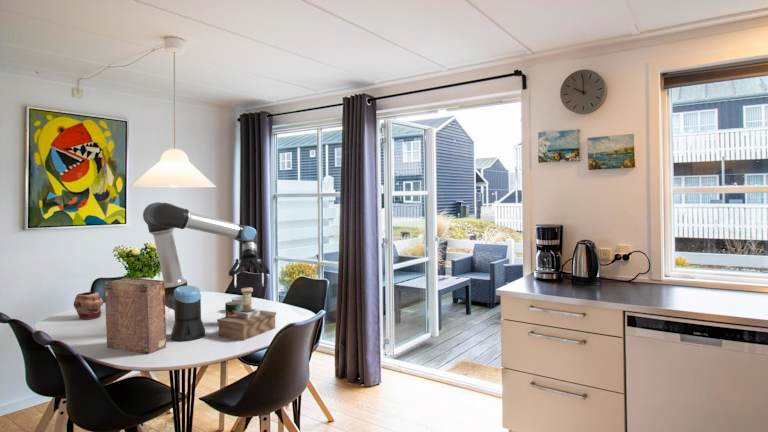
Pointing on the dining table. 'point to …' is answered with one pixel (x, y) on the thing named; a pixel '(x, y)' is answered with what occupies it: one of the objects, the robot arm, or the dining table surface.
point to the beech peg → (247, 299)
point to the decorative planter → (88, 305)
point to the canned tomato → (232, 307)
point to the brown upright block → (135, 314)
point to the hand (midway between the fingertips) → (249, 285)
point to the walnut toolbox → (246, 324)
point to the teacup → (239, 298)
